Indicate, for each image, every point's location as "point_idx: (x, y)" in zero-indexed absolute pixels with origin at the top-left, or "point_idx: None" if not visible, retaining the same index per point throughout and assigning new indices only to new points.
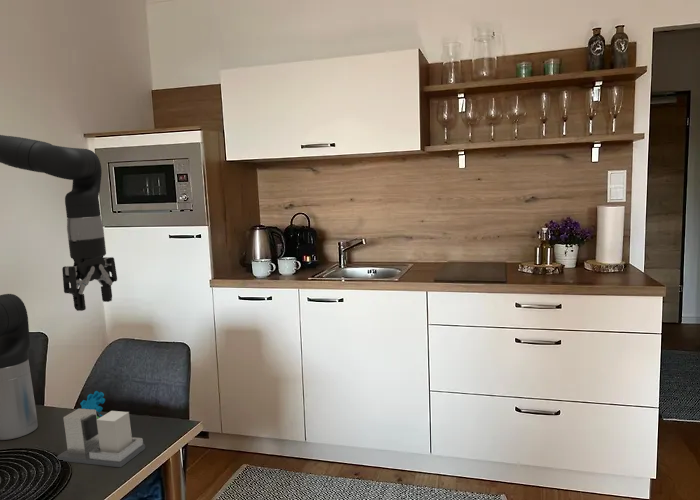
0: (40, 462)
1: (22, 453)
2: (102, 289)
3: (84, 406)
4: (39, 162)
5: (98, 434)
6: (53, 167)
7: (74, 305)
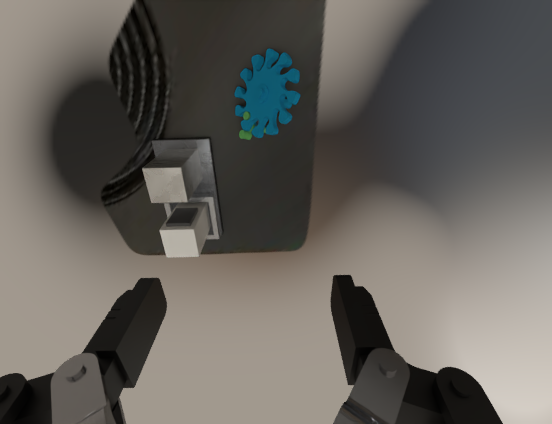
0: (139, 115)
1: (143, 50)
2: (348, 336)
3: (272, 77)
4: None
5: (168, 217)
6: None
7: (115, 305)
